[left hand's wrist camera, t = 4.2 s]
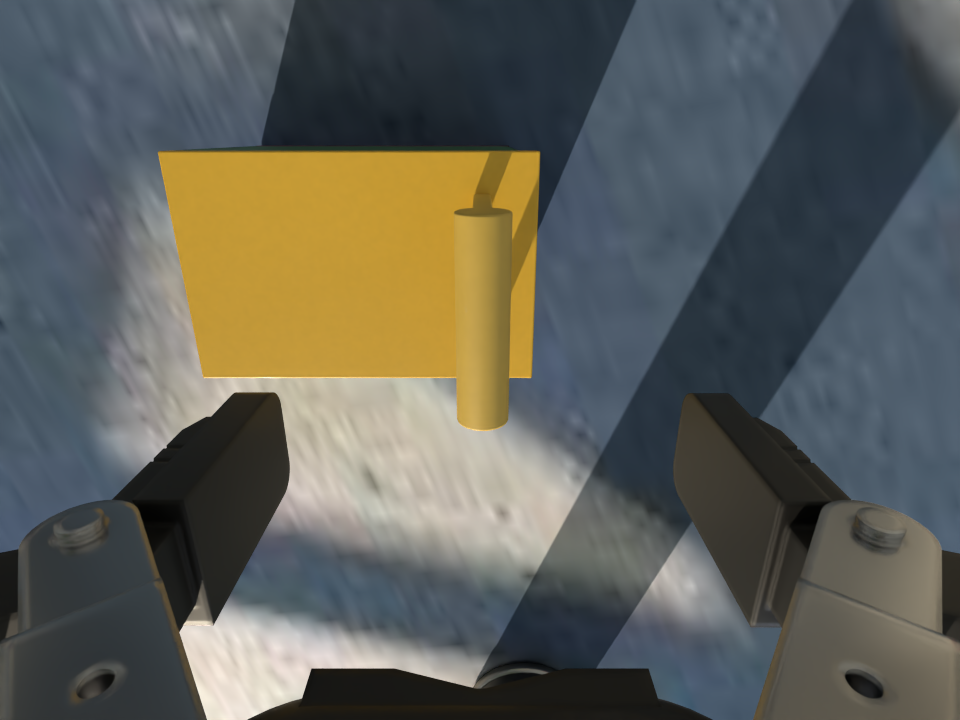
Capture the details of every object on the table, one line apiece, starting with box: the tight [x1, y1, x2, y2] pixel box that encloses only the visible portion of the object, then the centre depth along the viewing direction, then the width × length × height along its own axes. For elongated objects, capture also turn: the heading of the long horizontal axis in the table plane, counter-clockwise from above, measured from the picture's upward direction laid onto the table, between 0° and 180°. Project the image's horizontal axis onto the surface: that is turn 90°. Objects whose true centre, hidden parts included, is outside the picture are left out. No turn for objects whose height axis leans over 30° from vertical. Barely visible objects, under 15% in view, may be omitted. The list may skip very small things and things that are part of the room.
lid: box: [158, 151, 540, 431], centre depth 21 cm, size 15×10×9 cm, turn 90°
